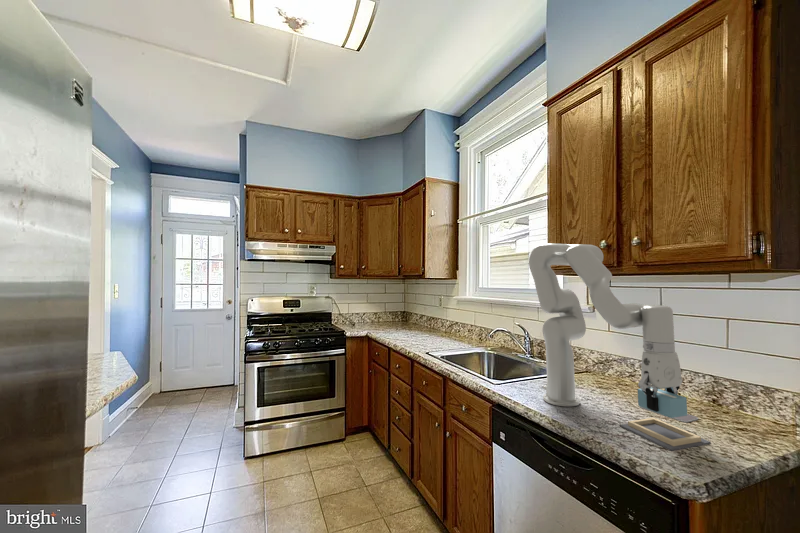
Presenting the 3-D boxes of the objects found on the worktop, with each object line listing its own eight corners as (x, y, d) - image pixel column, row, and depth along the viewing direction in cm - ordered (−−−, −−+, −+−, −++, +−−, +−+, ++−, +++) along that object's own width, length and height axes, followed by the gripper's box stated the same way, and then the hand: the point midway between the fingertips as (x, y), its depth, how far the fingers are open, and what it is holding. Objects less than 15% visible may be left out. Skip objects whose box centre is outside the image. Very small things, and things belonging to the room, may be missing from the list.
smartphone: (685, 421, 110) (638, 405, 124) (686, 424, 110) (638, 408, 124) (700, 417, 112) (651, 402, 126) (700, 420, 112) (651, 404, 126)
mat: (620, 426, 108) (619, 420, 108) (655, 420, 112) (655, 415, 112) (671, 451, 93) (671, 444, 93) (710, 443, 96) (710, 437, 96)
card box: (687, 415, 98) (686, 397, 98) (670, 417, 97) (669, 399, 97) (653, 403, 108) (653, 386, 108) (638, 405, 107) (637, 388, 107)
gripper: (647, 351, 97) (650, 416, 97) (694, 347, 102) (697, 409, 101) (624, 346, 105) (627, 407, 104) (668, 343, 109) (671, 401, 108)
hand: (661, 408), depth 102 cm, fingers closed on card box, 6 cm apart
